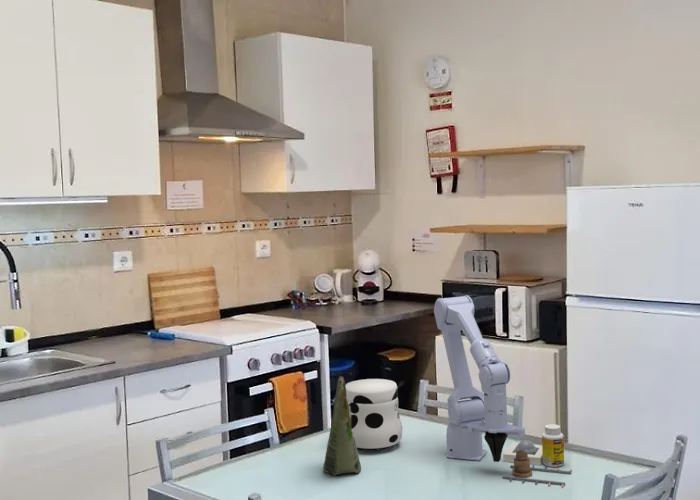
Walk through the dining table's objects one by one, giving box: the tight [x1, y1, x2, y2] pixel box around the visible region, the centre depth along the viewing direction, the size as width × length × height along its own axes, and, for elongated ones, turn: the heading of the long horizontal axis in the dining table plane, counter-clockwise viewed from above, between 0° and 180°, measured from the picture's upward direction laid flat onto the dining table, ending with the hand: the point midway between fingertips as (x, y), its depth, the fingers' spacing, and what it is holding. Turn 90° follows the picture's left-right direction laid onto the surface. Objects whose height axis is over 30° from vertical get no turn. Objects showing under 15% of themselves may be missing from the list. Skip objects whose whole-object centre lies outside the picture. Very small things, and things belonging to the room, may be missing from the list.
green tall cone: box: [322, 375, 362, 476], centre depth 215 cm, size 11×12×25 cm
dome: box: [516, 439, 536, 455], centre depth 220 cm, size 5×5×5 cm
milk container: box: [345, 378, 403, 452], centre depth 236 cm, size 17×17×18 cm
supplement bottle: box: [541, 423, 565, 468], centre depth 214 cm, size 6×6×10 cm
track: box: [501, 464, 573, 489], centre depth 206 cm, size 16×12×1 cm
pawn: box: [511, 450, 533, 478], centre depth 207 cm, size 5×5×6 cm
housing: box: [502, 442, 543, 466], centre depth 220 cm, size 10×10×2 cm
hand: (497, 460), depth 210 cm, fingers closed
